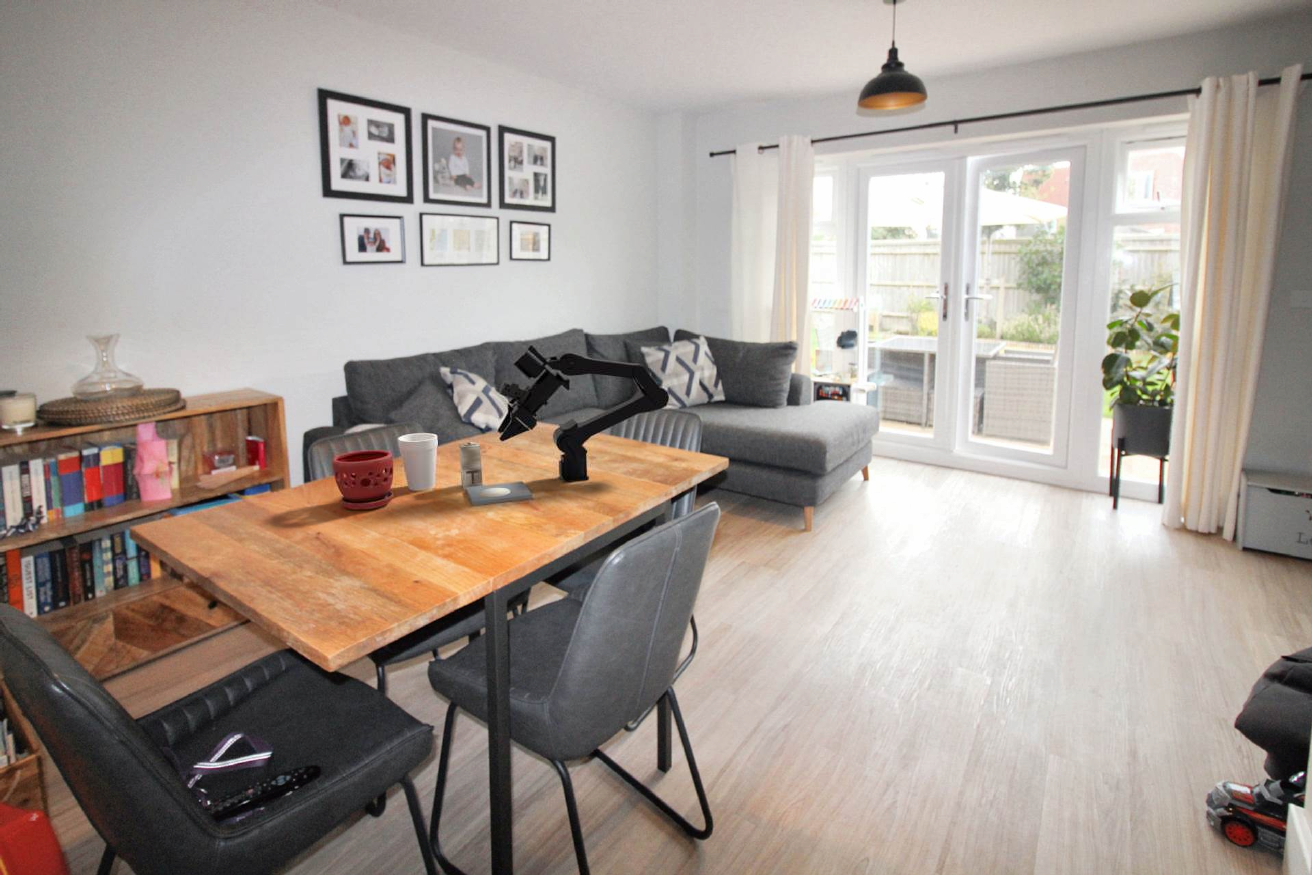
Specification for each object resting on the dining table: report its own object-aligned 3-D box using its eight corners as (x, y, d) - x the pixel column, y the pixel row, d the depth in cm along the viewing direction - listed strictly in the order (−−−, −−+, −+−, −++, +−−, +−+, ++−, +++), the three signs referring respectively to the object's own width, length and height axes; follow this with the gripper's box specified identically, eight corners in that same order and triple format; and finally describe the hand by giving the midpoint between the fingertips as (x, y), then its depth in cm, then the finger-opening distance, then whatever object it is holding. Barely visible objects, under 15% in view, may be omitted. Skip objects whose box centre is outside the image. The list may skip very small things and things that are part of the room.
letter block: (479, 482, 192) (477, 441, 190) (482, 487, 188) (480, 445, 185) (461, 484, 190) (458, 442, 188) (464, 489, 186) (461, 446, 184)
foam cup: (429, 493, 183) (425, 442, 180) (395, 491, 185) (390, 441, 182) (447, 482, 192) (443, 433, 189) (414, 480, 194) (410, 432, 191)
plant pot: (408, 498, 180) (403, 450, 177) (371, 515, 168) (366, 464, 165) (363, 493, 184) (359, 446, 181) (324, 509, 172) (318, 459, 169)
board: (522, 484, 190) (522, 480, 190) (532, 498, 179) (532, 494, 179) (466, 491, 185) (465, 487, 185) (473, 505, 174) (472, 501, 174)
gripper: (515, 364, 194) (474, 408, 194) (520, 375, 177) (475, 423, 177) (546, 392, 198) (506, 435, 198) (555, 405, 180) (511, 452, 180)
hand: (499, 436), depth 188 cm, fingers open, 9 cm apart
